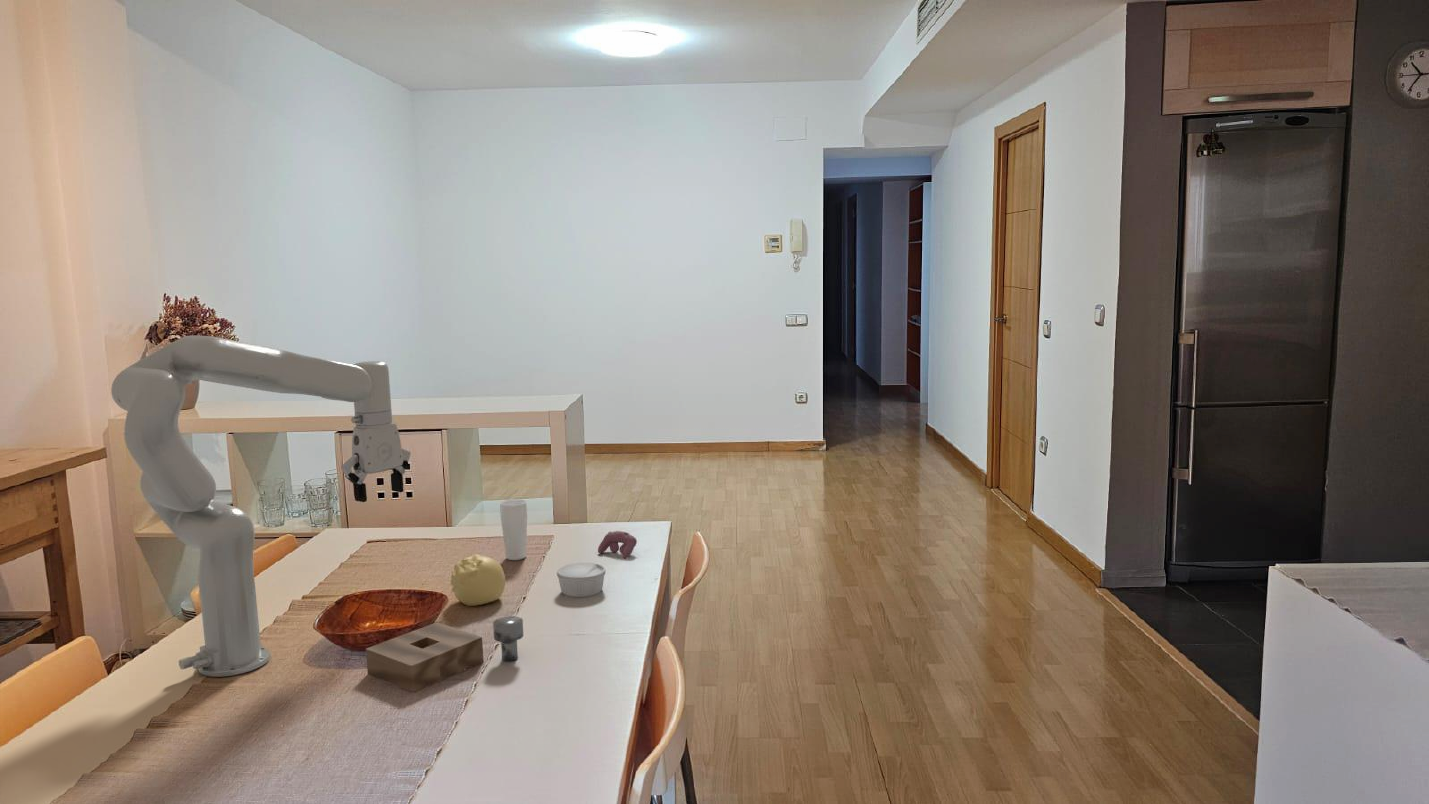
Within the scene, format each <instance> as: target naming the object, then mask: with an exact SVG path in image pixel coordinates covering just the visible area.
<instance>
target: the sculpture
mask: <svg viewBox="0 0 1429 804" xmlns="http://www.w3.org/2000/svg"><path fill="white" fill-rule="evenodd" d="M450 585H451V586H452V588H451V592H453V593H454V596H455V598H456V599H457V600H458V601H459V602H461V603H463V604H464V605H466V606H468V607H469V606H470V607H471V606H472V607H473V606H480V605H485V604H488V603H489V604H490V603H493V602H495V601H496V600H499V599H500V598H501V597H502V595H503V593H504V589H505V587H506V576H505V572H504V569H503V567H502V566H501V564H500V563H499V562H498V561H497V560H495V559H494V558H491V557H488V556H485V555H484V556H482V555H480V554H478V553H475V554H473V555H472V554H471V555H470V556H467V557H463V559H462V560H460V561H456V562H455V564H454V567H453V570H452V571H451V577H450Z"/></svg>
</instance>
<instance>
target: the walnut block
mask: <svg viewBox="0 0 1429 804" xmlns="http://www.w3.org/2000/svg"><path fill="white" fill-rule="evenodd" d="M483 645H484V644H483V636H480V635H476V634H473V633H470V632H468V631H464V630H461V629H458V628H455V627H453V626H449V625H446V624H443V623H440V622H437V621H436V622H433V623H431V624H428V625H425V626H423V627H421V628H418V629H414V630H412V631H409V632H407V633H404V634H402V635H399V636H396V637H393V638H391V639H388V640H386V641H383V642H380V643H378V644H375V645H372V646H370V647H367V648H365V656H366V657H365V658H366V659H365V660H366V668H367V669H366V670H367V675H369V676H371V677H375V678H377V679H378V680H379V679H380V680H381V681H384V682H386V683H389V684H392V685H394V686H397V687H399V688H401V689H404V690H406V691H408V692H411V693H415V692H417V691H421V690H423V689H424V688H426V687H430V686H431V685H434V684H436V683H438V682H441V681H443V680H445V679H448V678H450V677H452V676H455V675H456V673H457V674H459V673H461V672H463V671H462V670H464V669H466V670H469V669H470V668H472V667H475V666H478V665H479V663H480V664H482V663H484V661H485V660H484V647H483ZM477 664H478V665H477ZM460 671H461V672H460ZM464 671H465V670H464ZM458 672H459V673H458ZM454 674H455V675H454ZM447 677H448V678H447ZM444 678H445V679H444ZM442 679H443V680H442ZM440 680H441V681H440Z"/></svg>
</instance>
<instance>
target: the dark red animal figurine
mask: <svg viewBox="0 0 1429 804" xmlns="http://www.w3.org/2000/svg"><path fill="white" fill-rule="evenodd" d="M637 542H638V541H637V538H636V536H633V535H632V534H630V533H629V532H626V531H621V530H616V531H608V533H607V534H605V535H604V537H603V538H602V540H601V542H600V544H599V545H598V547H597V553H598V554H599V553H602V554H603V553H605V552H606V551H607V550H608V549H609V550H610V551H611V552H612V553H617V552H618V551H619V553H620V554H622V557H623V559H627V558H629V557H630V556H631V554H632V553H633V551H634V549H635V547H636V545H637ZM619 543H621V545H619Z"/></svg>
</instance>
